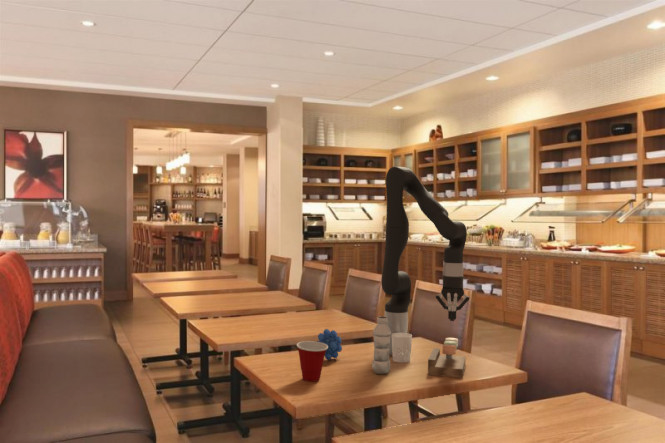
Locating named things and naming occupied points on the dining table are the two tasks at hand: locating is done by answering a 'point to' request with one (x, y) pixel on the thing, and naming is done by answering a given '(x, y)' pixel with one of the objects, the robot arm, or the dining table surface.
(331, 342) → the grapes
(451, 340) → the ivory key
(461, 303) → the robot arm
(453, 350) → the peach rounded block
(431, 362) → the brown wooden block
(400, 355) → the white cup
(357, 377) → the dining table surface
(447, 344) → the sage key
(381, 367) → the plastic bottle
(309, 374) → the plastic cup
